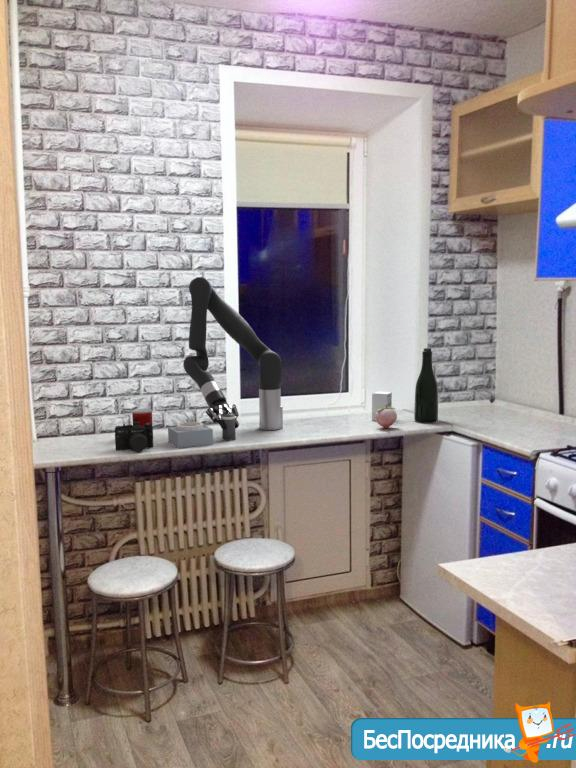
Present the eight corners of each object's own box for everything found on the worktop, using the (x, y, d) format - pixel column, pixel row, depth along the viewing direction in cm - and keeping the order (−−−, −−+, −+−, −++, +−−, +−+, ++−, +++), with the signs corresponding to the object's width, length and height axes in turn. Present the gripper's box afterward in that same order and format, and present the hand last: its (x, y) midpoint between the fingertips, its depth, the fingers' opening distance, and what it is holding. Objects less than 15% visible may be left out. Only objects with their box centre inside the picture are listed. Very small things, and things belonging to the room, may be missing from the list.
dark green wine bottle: (413, 419, 309) (414, 347, 305) (436, 419, 308) (437, 347, 304) (415, 423, 298) (416, 349, 294) (439, 423, 297) (440, 349, 293)
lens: (232, 437, 272) (232, 412, 271) (237, 439, 268) (237, 414, 266) (220, 438, 270) (219, 413, 269) (225, 440, 265) (224, 415, 264)
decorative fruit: (386, 425, 294) (387, 402, 293) (400, 428, 288) (400, 405, 286) (370, 428, 289) (370, 405, 288) (383, 431, 282) (384, 407, 281)
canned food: (156, 435, 277) (155, 409, 275) (146, 439, 269) (145, 412, 268) (139, 434, 279) (138, 408, 278) (129, 438, 271) (128, 411, 270)
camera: (116, 455, 244) (114, 427, 242) (115, 448, 254) (114, 422, 253) (155, 452, 247) (154, 425, 246) (152, 446, 258) (152, 420, 256)
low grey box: (202, 438, 270) (201, 420, 269) (213, 444, 259) (212, 425, 258) (168, 442, 264) (167, 423, 263) (177, 448, 253) (177, 428, 252)
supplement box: (387, 421, 303) (387, 394, 301) (371, 420, 306) (371, 393, 304) (391, 419, 310) (392, 391, 308) (376, 418, 313) (376, 391, 311)
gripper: (202, 390, 267) (220, 424, 260) (231, 387, 276) (249, 420, 269) (194, 402, 272) (213, 436, 264) (223, 398, 281) (241, 431, 274)
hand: (231, 427), depth 267 cm, fingers closed on lens, 5 cm apart
